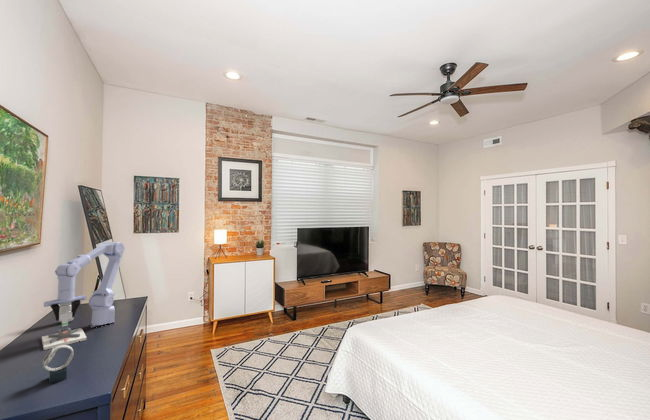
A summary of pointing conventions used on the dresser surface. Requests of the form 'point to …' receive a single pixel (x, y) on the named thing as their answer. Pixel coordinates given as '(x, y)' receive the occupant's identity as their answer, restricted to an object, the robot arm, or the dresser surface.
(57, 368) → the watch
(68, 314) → the column
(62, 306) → the silver twisted sculpture
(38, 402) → the dresser surface
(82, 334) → the stand base
